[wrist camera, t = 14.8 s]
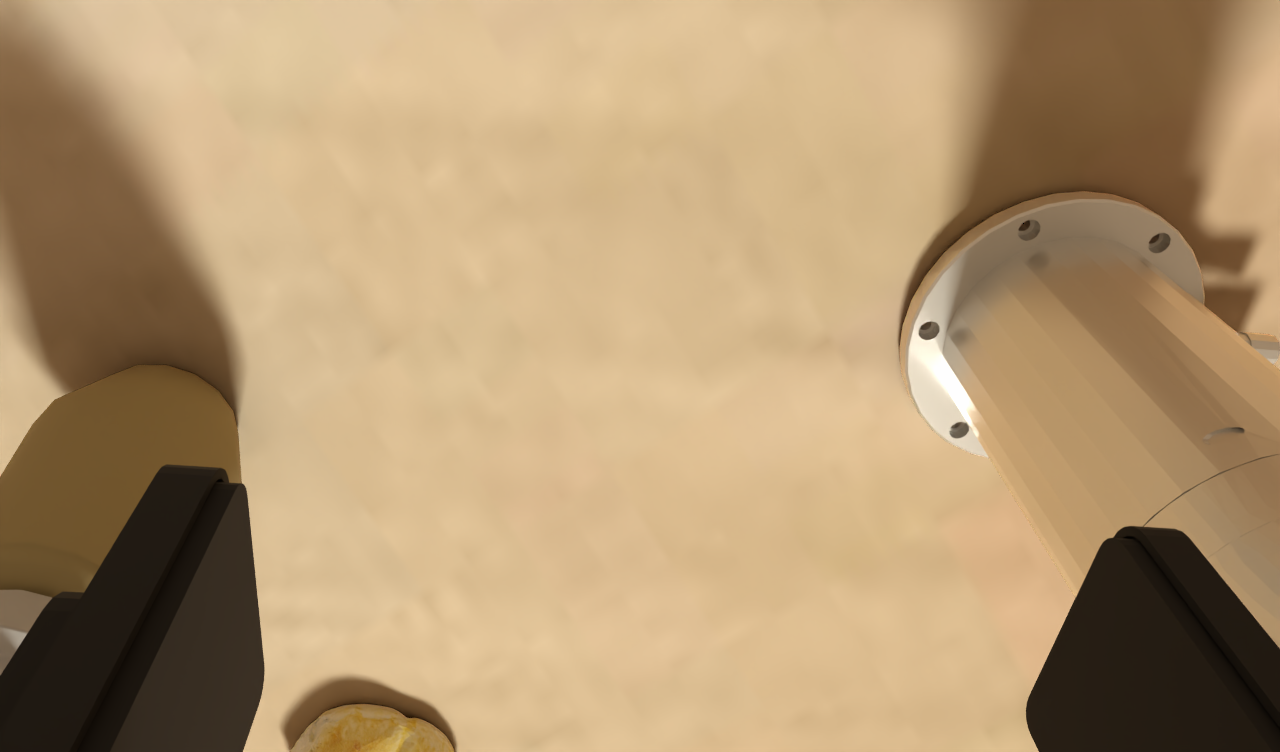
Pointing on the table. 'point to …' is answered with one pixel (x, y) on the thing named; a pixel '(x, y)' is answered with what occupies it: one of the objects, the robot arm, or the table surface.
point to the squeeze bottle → (97, 479)
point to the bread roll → (370, 732)
